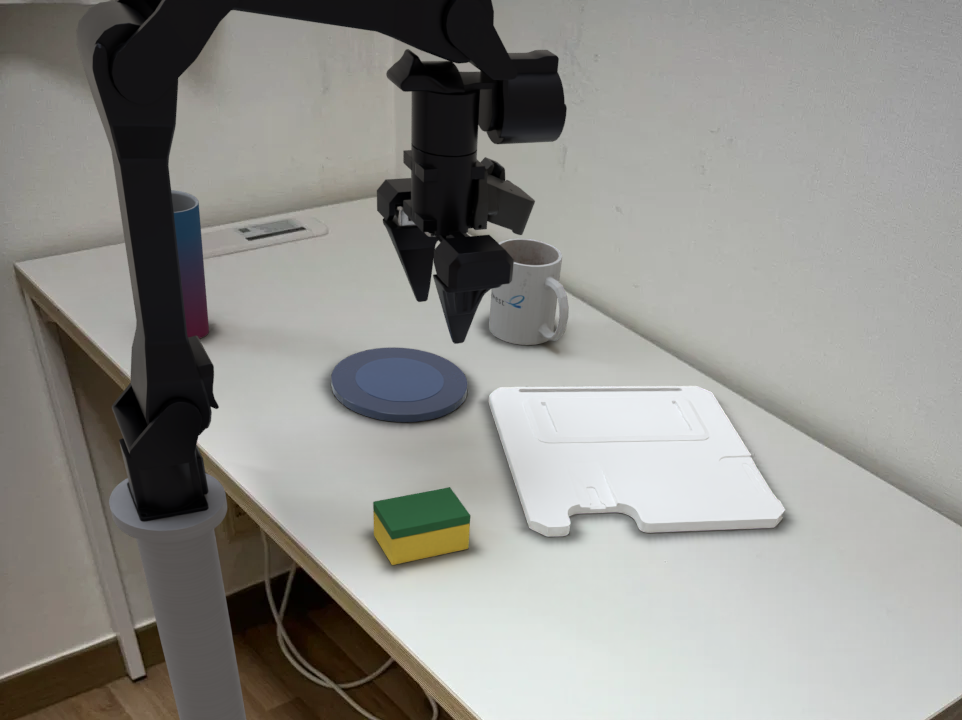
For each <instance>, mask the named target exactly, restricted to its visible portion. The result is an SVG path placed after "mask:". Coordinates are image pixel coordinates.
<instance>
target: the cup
mask: <svg viewBox="0 0 962 720" xmlns="http://www.w3.org/2000/svg"><path fill="white" fill-rule="evenodd" d="M171 193H172V202H173V211H174V220H175V229H176V238H177V247H178V256H179V265H180V273H181V282H182V291H183V300H184V309H185V318H186V327H187V336H188V337H192V336H198V338H199V339H202V338H204V337H206V336H207V335H208V334H209V332H210V324H209V313H208V301H207V299H208V298H207V288H206V275H205V274H206V273H205V262H204V251H203V237H202V226H201V225H202V224H201V213H200V201H199V199H198V198H197V197H196V196H195V195H193V194H191V193H188V192H185V191H182V190H176V189H171Z"/></svg>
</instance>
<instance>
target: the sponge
mask: <svg viewBox="0 0 962 720" xmlns="http://www.w3.org/2000/svg"><path fill="white" fill-rule="evenodd" d="M372 509H373V511H372V512H373V516H372V517H373V536H374V538H375V540H376V541H377V543H378V545H379V547H380V548H381V549H382V551H383V553H384V555H385V556H386V558H387V559H388V561H389V563H390V564H391V566H396V565H400V564H404V563H409V562H413V561H418V560H422V559H427V558H432V557H436V556H437V557H438V556H441V555H446V554H450V553H454V552H459V551H463V550H464V551H465V550H468V549H469V546H470V530H471V529H470V528H471V513H469V511H468V510H467V509H466V507H465V505H464V504H463V503H462V501H461V500H460V498H459V497H458V496H457V494H456V493H455V492H454V490H453V488H452V487H450V486H447V487H443V488H438V489H432V490H427V491H422V492H417V493H412V494H405V495H400V496H395V497H390V498H386V499H385V498H384V499H380V500H375V501H373V502H372Z"/></svg>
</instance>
